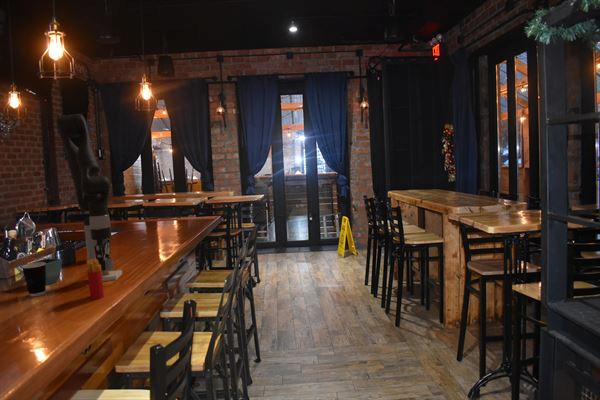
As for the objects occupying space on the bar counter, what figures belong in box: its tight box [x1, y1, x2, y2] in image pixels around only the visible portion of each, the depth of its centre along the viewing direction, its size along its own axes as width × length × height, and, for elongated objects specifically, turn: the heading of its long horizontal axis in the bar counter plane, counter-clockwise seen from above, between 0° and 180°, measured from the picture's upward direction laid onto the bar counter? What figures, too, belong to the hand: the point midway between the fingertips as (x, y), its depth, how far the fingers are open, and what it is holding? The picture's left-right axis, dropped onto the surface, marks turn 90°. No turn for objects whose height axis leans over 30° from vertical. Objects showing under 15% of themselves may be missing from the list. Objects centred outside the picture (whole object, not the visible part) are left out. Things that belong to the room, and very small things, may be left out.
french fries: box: [86, 258, 105, 301], centre depth 168 cm, size 9×4×13 cm, turn 19°
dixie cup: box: [20, 262, 47, 297], centre depth 177 cm, size 8×8×11 cm
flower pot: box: [27, 258, 62, 286], centre depth 193 cm, size 9×9×9 cm
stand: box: [102, 269, 123, 282], centre depth 195 cm, size 10×10×8 cm
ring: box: [98, 256, 114, 272], centre depth 195 cm, size 6×6×4 cm
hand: (105, 268), depth 195 cm, fingers closed on ring, 6 cm apart
